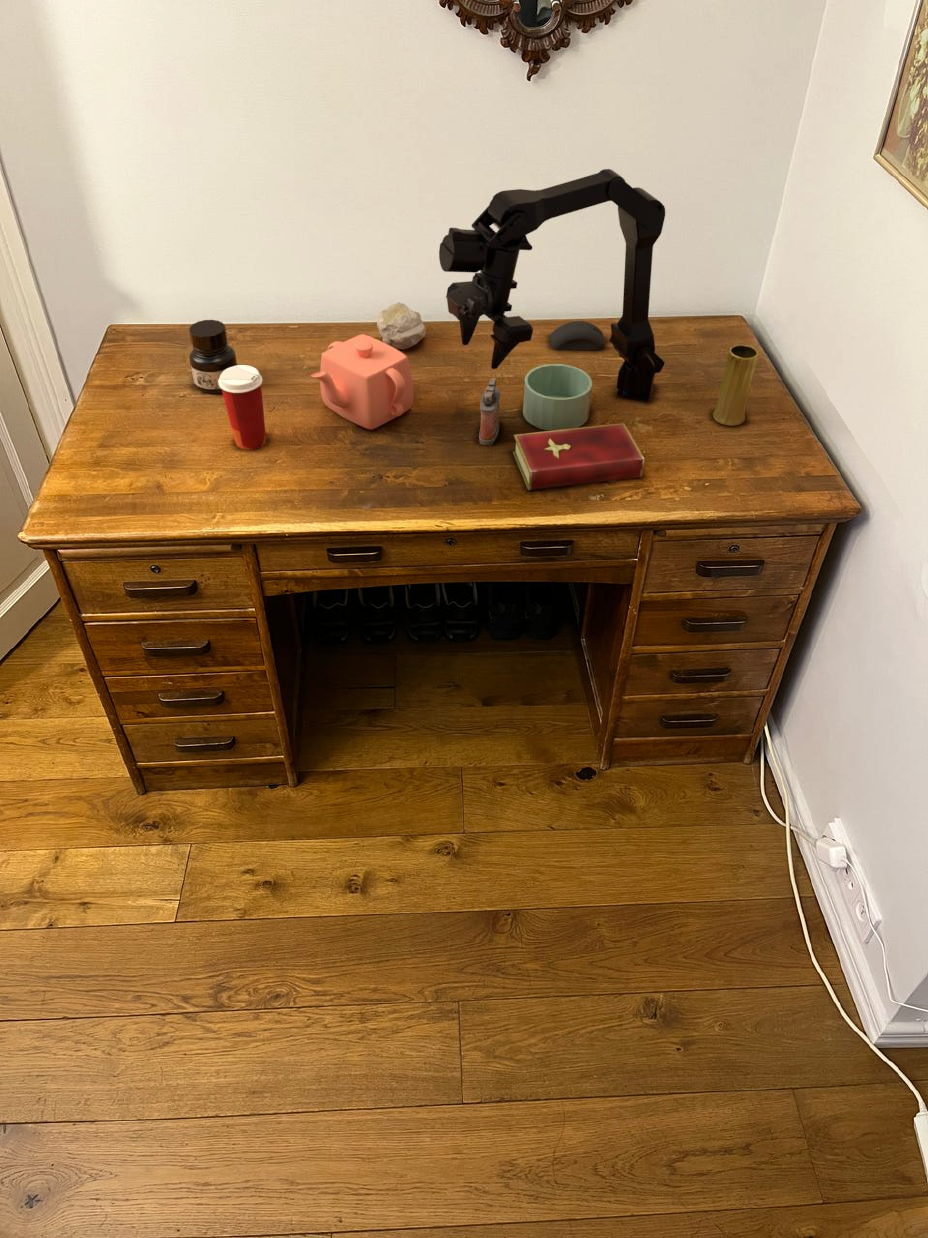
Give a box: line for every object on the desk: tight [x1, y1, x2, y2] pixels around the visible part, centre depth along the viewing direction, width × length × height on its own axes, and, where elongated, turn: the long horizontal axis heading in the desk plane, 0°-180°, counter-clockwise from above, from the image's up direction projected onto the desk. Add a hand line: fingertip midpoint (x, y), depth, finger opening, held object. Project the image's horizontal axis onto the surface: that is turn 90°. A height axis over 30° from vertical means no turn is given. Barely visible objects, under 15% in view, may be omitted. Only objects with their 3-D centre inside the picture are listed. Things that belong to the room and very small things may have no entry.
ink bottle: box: [188, 319, 238, 394], centre depth 193 cm, size 10×9×12 cm
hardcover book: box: [512, 422, 646, 491], centre depth 177 cm, size 12×21×4 cm, turn 102°
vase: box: [712, 344, 759, 427], centre depth 185 cm, size 6×6×14 cm
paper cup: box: [218, 364, 267, 451], centre depth 178 cm, size 8×8×14 cm
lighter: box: [478, 377, 501, 446], centre depth 182 cm, size 8×3×10 cm, turn 168°
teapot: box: [310, 333, 415, 430], centre depth 185 cm, size 20×19×14 cm
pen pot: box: [522, 363, 593, 431], centre depth 189 cm, size 13×13×7 cm
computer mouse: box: [550, 320, 605, 352], centre depth 209 cm, size 6×11×4 cm, turn 89°
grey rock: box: [376, 301, 427, 350], centre depth 207 cm, size 12×8×10 cm
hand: (479, 356), depth 177 cm, fingers open, 9 cm apart
